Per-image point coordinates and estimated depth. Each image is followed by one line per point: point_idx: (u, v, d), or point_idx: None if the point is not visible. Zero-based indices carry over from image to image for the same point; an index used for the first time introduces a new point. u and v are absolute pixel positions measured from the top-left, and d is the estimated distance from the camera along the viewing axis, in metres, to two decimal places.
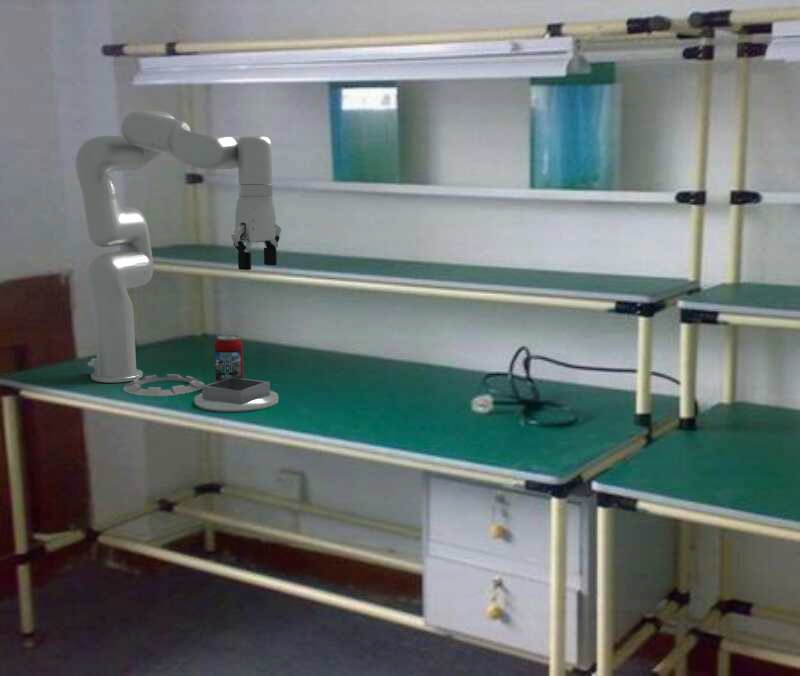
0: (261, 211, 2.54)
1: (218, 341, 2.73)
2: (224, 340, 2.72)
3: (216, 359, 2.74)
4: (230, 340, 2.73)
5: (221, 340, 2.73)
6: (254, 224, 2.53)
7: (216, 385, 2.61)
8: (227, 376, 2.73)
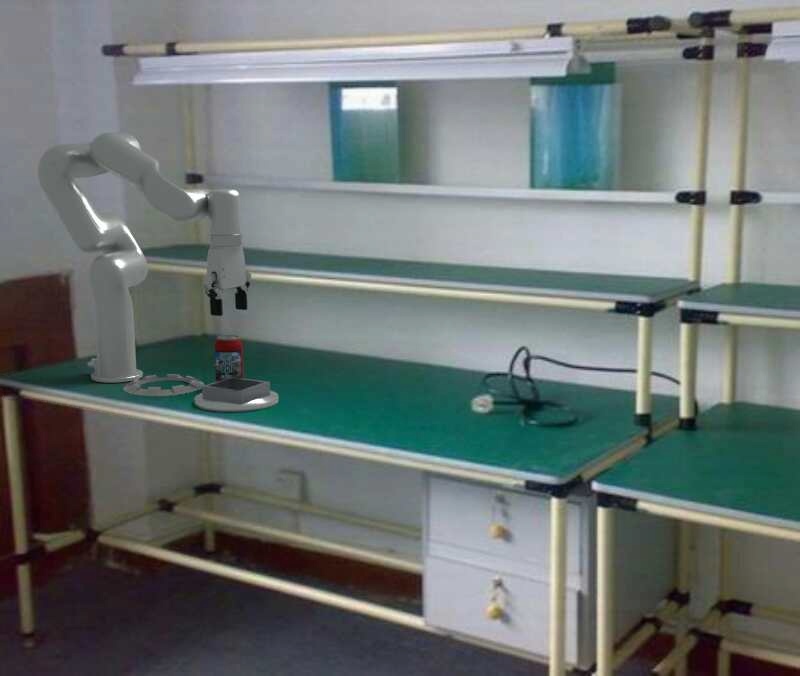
0: (231, 260, 2.69)
1: (218, 341, 2.73)
2: (224, 340, 2.72)
3: (216, 359, 2.74)
4: (230, 340, 2.73)
5: (221, 340, 2.73)
6: (224, 273, 2.68)
7: (216, 385, 2.61)
8: (227, 376, 2.73)
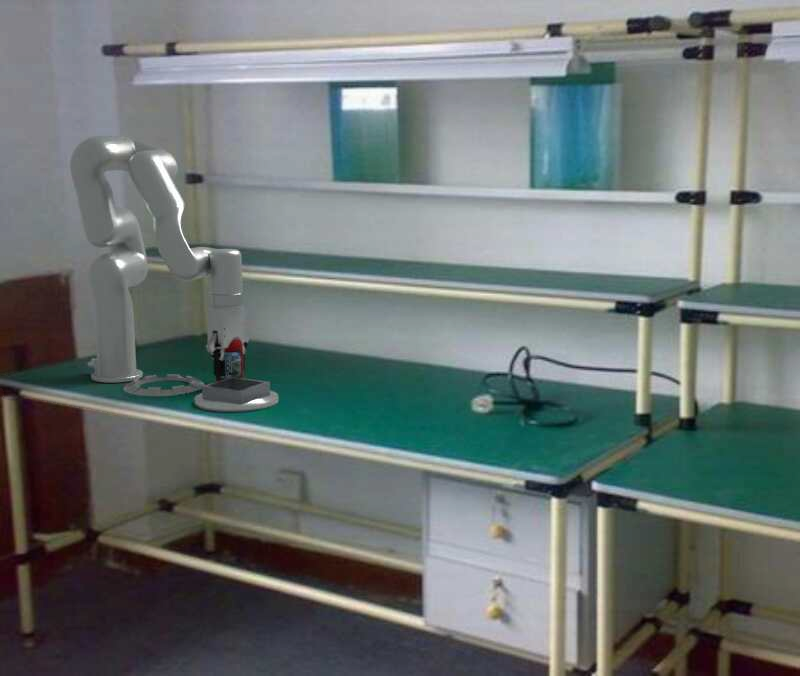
0: (232, 319, 2.72)
1: None
2: None
3: None
4: None
5: None
6: (225, 332, 2.70)
7: (216, 385, 2.61)
8: (227, 376, 2.73)
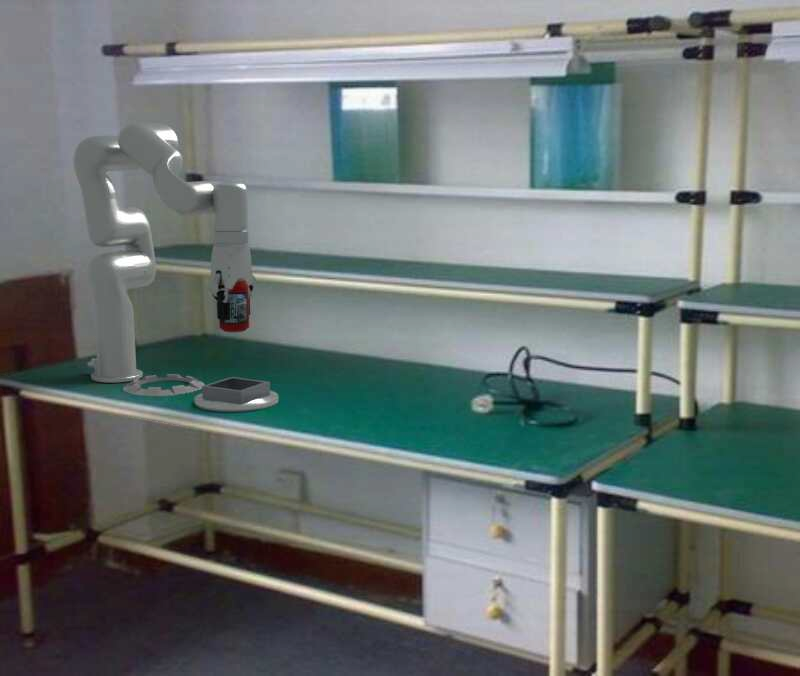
0: (237, 258, 2.52)
1: None
2: None
3: None
4: None
5: None
6: (230, 272, 2.51)
7: (216, 385, 2.61)
8: (232, 320, 2.54)
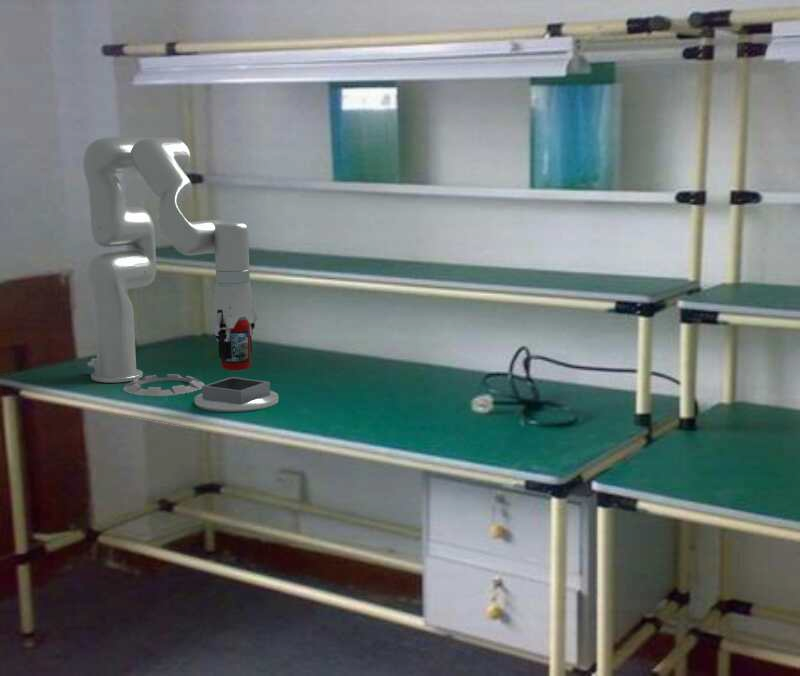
0: (238, 298, 2.53)
1: None
2: None
3: None
4: None
5: None
6: (231, 311, 2.52)
7: (216, 385, 2.61)
8: (233, 358, 2.55)
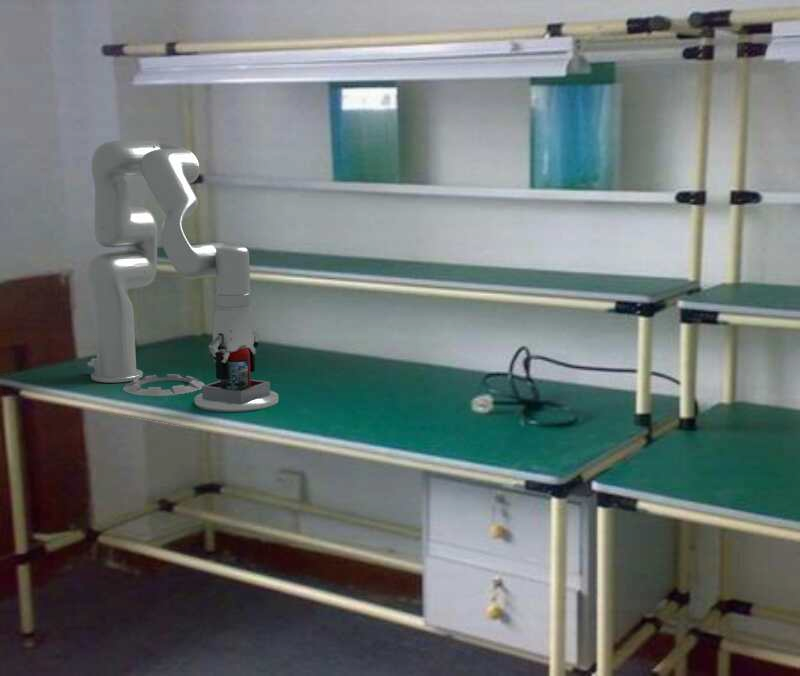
0: (239, 321, 2.54)
1: None
2: None
3: None
4: None
5: None
6: (232, 335, 2.53)
7: (216, 385, 2.61)
8: (233, 387, 2.56)
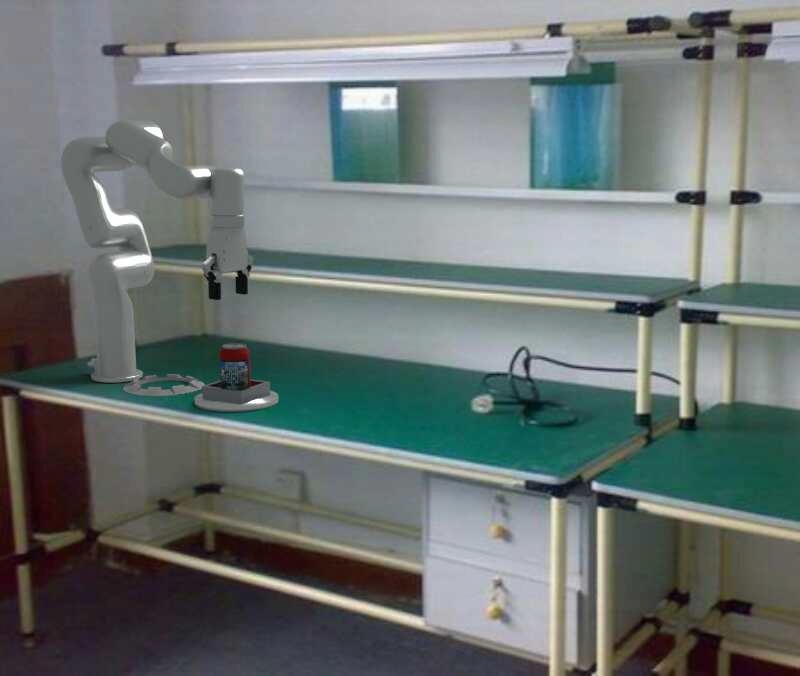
0: (232, 242, 2.57)
1: (223, 350, 2.56)
2: (230, 349, 2.55)
3: (222, 369, 2.57)
4: (236, 349, 2.56)
5: (227, 349, 2.56)
6: (225, 255, 2.56)
7: (216, 385, 2.61)
8: (233, 387, 2.56)
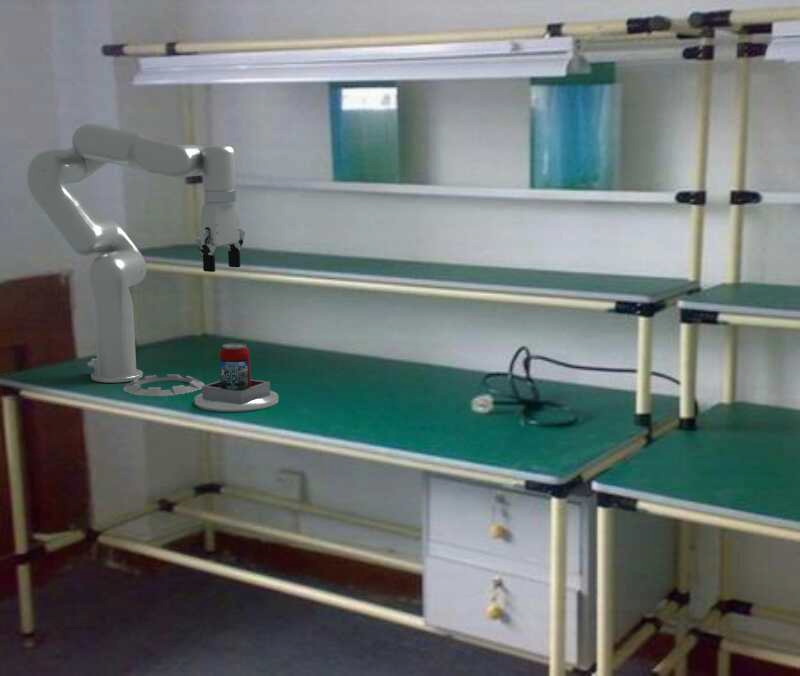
0: (225, 216, 2.69)
1: (224, 350, 2.56)
2: (230, 349, 2.55)
3: (222, 369, 2.57)
4: (236, 349, 2.56)
5: (227, 349, 2.56)
6: (218, 229, 2.68)
7: (216, 385, 2.61)
8: (233, 387, 2.56)
